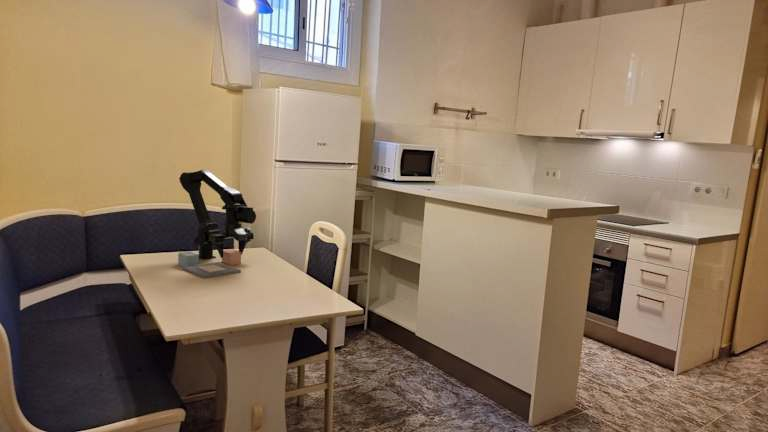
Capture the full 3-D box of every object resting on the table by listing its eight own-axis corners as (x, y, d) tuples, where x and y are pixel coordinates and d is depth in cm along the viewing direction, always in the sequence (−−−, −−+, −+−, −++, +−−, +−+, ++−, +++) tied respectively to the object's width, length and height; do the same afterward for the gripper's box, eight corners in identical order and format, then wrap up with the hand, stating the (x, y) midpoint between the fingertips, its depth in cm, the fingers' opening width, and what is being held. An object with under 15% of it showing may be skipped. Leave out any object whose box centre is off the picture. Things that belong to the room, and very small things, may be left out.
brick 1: (178, 264, 210) (178, 252, 210) (189, 263, 214) (189, 251, 213) (186, 268, 206) (187, 256, 205) (198, 266, 210) (198, 254, 209)
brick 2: (221, 261, 220) (222, 250, 219) (232, 260, 224) (232, 249, 223) (230, 265, 215) (230, 253, 215) (240, 263, 219) (241, 252, 218)
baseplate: (182, 269, 203) (182, 266, 203) (218, 264, 215) (218, 261, 215) (204, 278, 193) (204, 275, 193) (240, 272, 205) (240, 269, 205)
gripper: (223, 225, 205) (222, 263, 207) (262, 222, 219) (260, 257, 221) (208, 221, 212) (207, 257, 214) (246, 218, 226) (245, 252, 228)
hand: (231, 256), depth 219 cm, fingers open, 9 cm apart
